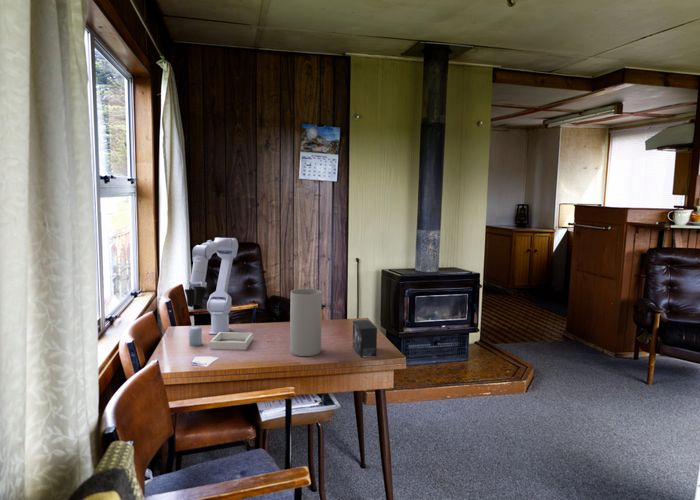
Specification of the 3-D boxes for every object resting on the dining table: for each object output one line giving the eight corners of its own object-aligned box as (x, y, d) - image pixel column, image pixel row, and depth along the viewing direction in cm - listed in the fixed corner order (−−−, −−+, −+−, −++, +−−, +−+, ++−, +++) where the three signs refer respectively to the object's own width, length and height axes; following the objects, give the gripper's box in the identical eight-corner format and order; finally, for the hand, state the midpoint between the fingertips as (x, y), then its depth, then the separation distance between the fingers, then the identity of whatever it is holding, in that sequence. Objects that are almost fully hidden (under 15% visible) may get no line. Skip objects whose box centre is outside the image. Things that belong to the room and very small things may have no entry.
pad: (225, 341, 214) (225, 340, 214) (242, 341, 214) (242, 341, 214) (221, 346, 207) (221, 345, 207) (238, 346, 207) (238, 346, 207)
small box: (351, 347, 209) (352, 320, 208) (367, 346, 211) (368, 319, 210) (360, 357, 197) (361, 328, 196) (377, 356, 199) (377, 327, 197)
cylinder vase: (325, 354, 200) (327, 293, 197) (297, 358, 194) (298, 295, 191) (312, 346, 211) (313, 288, 208) (285, 349, 204) (285, 290, 202)
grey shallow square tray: (219, 338, 218) (219, 332, 218) (252, 339, 218) (252, 332, 218) (209, 348, 203) (209, 341, 203) (245, 349, 203) (245, 342, 203)
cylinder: (191, 342, 212) (191, 326, 211) (203, 342, 212) (203, 326, 211) (187, 346, 207) (187, 329, 206) (199, 346, 207) (199, 329, 206)
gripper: (182, 273, 208) (177, 305, 204) (196, 269, 197) (191, 303, 193) (198, 276, 212) (193, 308, 209) (213, 272, 201) (208, 305, 198)
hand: (193, 306), depth 201 cm, fingers open, 7 cm apart
